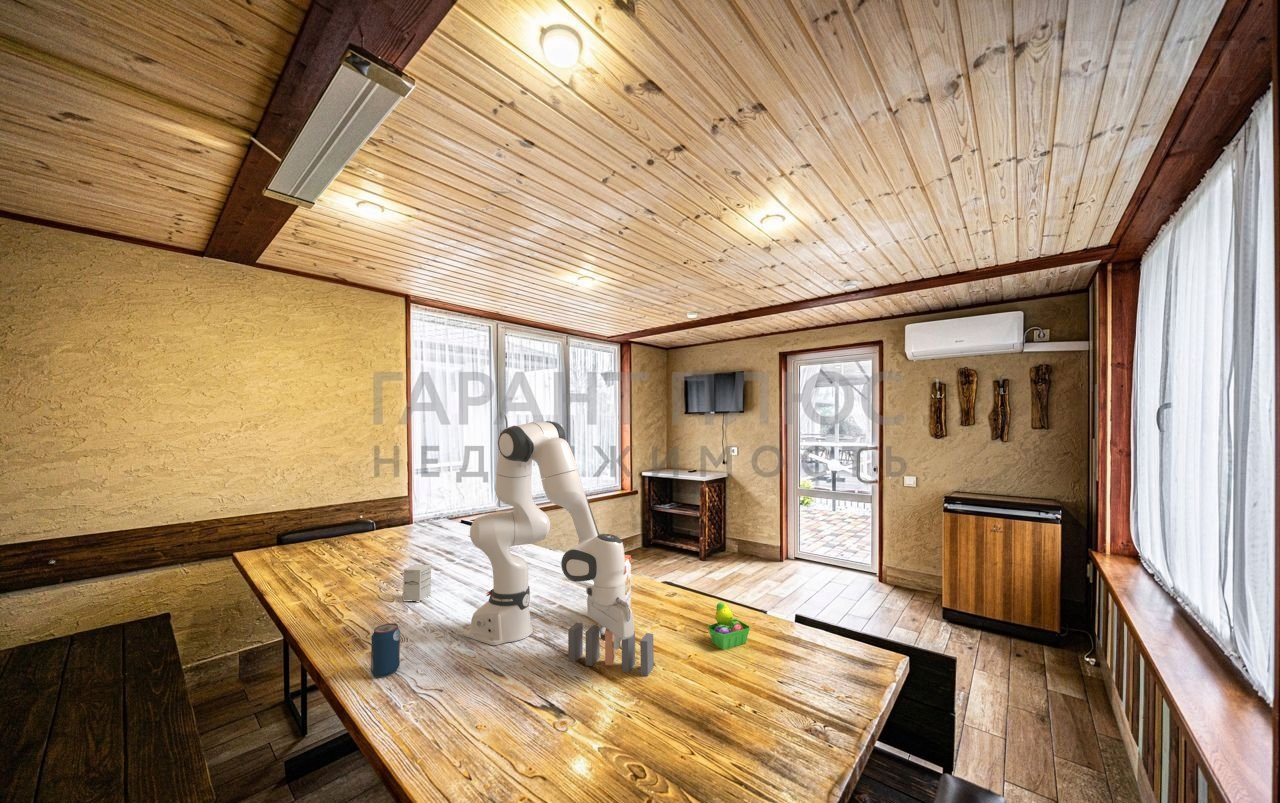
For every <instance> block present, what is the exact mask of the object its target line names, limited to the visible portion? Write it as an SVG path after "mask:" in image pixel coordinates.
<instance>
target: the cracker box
mask: <svg viewBox="0 0 1280 803" xmlns="http://www.w3.org/2000/svg"><path fill="white" fill-rule="evenodd" d="M624 556H625V569H624V579H625V600H624V601H625V602H627V603H628V606H629V608H630V609H631V607H632V555H630V554H624ZM631 610H632V609H631Z"/></svg>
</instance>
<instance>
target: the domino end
mask: <svg viewBox="0 0 1280 803" xmlns="http://www.w3.org/2000/svg"><path fill="white" fill-rule="evenodd" d="M639 649H640V676H645V677H649V675H650V674H651V673H652V671H653V669H654V665H655V664H654V662H655V661H654V633H650V632H646V633H645V634H644V636H643V637H642V638H641V639H640V648H639Z"/></svg>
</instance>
